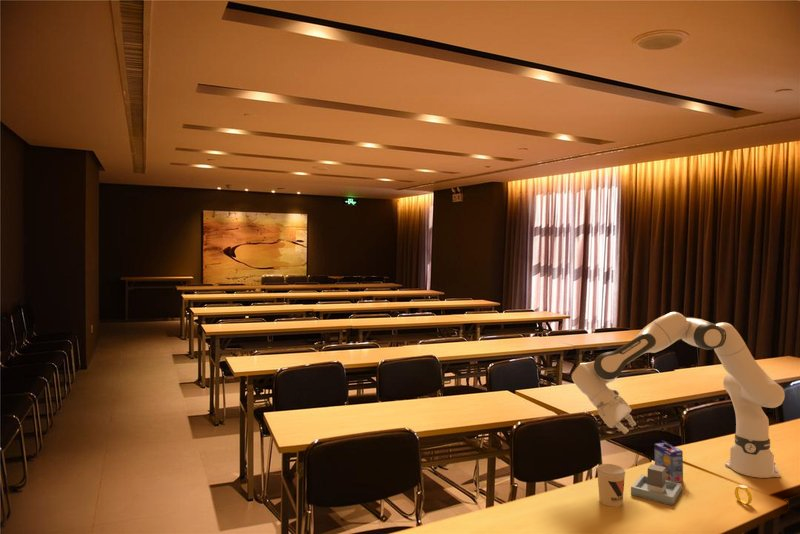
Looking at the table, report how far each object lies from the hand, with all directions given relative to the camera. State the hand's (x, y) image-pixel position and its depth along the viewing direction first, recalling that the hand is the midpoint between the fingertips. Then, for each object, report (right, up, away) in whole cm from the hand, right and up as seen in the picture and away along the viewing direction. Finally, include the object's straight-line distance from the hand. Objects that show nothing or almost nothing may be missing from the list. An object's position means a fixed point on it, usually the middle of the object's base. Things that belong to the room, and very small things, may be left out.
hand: (630, 429), depth 207 cm
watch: (+33, -22, -15) cm, 43 cm away
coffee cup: (-13, -22, -14) cm, 29 cm away
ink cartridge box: (+18, -21, +7) cm, 28 cm away
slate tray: (+6, -22, -7) cm, 24 cm away
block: (+6, -21, -7) cm, 23 cm away
